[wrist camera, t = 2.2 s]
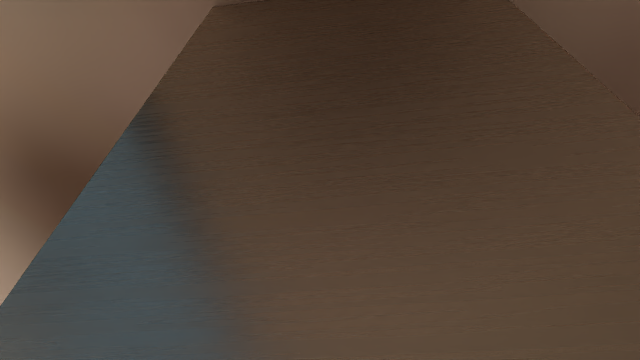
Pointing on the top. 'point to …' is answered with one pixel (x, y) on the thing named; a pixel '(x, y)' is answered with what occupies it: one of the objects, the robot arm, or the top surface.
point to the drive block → (352, 199)
